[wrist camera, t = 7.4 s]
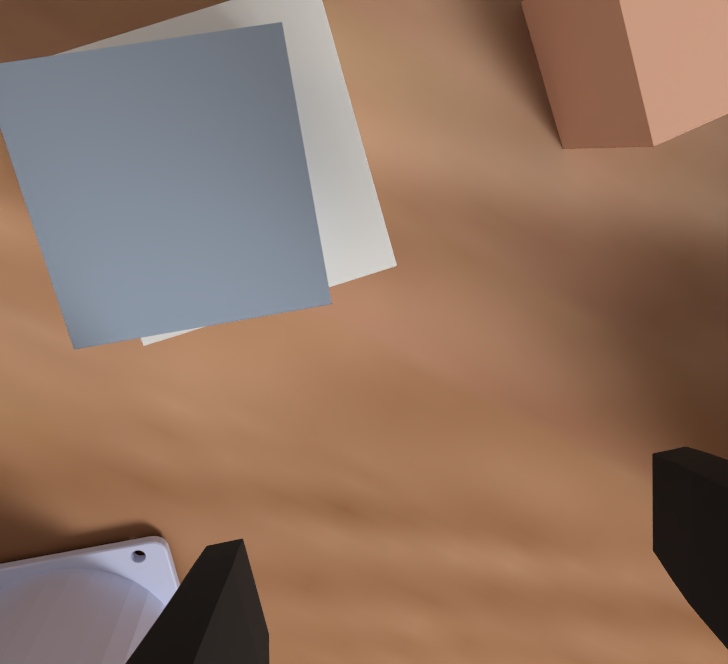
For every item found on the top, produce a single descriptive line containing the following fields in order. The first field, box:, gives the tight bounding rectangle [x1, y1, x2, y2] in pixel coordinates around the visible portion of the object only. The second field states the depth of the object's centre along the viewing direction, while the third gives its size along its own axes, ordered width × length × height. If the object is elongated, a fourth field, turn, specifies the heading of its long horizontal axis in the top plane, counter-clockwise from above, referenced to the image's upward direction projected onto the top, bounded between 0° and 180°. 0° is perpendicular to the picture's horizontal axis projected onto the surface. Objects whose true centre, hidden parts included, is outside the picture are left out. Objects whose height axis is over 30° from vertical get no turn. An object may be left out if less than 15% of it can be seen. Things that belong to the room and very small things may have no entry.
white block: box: [52, 0, 397, 346], centre depth 16 cm, size 7×7×4 cm
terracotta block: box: [521, 0, 728, 149], centre depth 15 cm, size 4×4×5 cm
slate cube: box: [0, 22, 332, 349], centre depth 12 cm, size 4×4×5 cm
